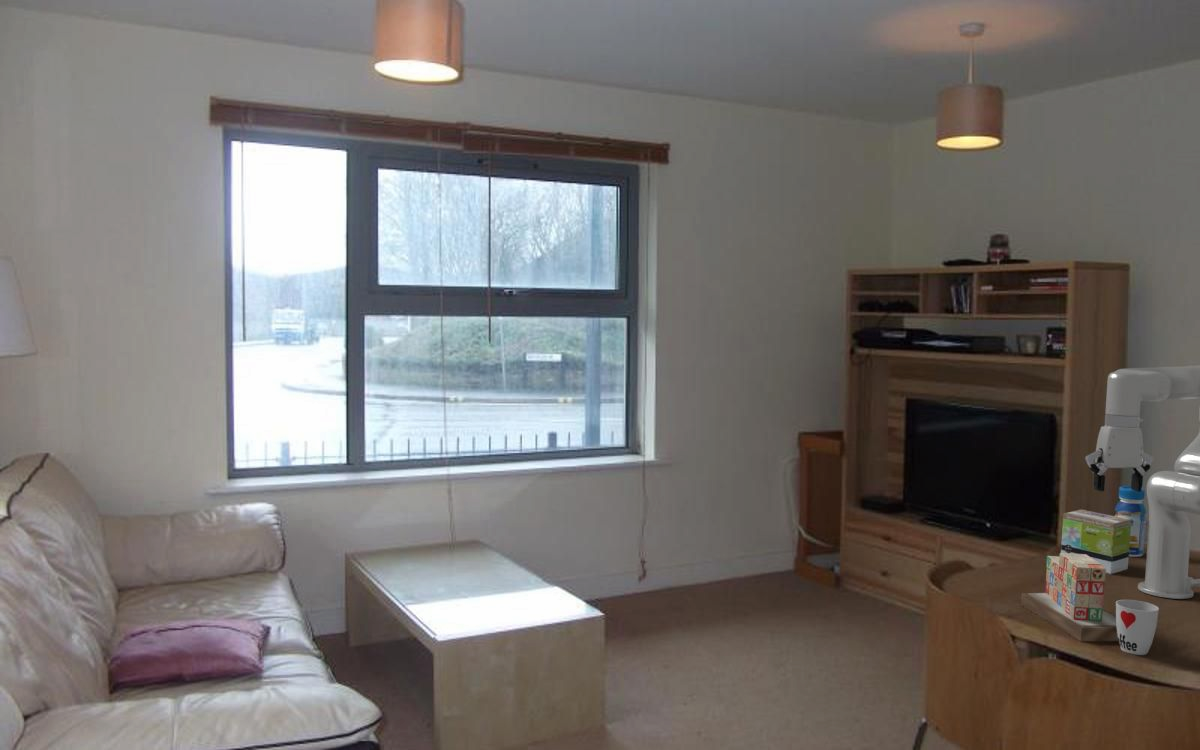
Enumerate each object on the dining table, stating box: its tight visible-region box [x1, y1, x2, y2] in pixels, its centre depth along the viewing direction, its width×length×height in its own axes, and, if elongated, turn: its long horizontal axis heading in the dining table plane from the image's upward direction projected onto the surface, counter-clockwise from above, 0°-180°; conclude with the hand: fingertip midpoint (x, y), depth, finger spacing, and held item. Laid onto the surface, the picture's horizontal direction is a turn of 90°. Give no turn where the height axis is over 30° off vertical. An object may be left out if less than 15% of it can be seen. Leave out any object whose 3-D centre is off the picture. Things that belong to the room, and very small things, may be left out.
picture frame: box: [1020, 592, 1119, 642], centre depth 234 cm, size 13×26×3 cm, turn 5°
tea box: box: [1060, 509, 1131, 575], centre depth 285 cm, size 15×10×15 cm
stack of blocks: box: [1045, 552, 1107, 621], centre depth 235 cm, size 21×6×12 cm, turn 172°
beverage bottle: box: [1114, 485, 1147, 558], centre depth 300 cm, size 8×8×20 cm
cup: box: [1115, 599, 1160, 656], centre depth 215 cm, size 8×8×10 cm
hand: (1117, 490), depth 248 cm, fingers open, 9 cm apart
